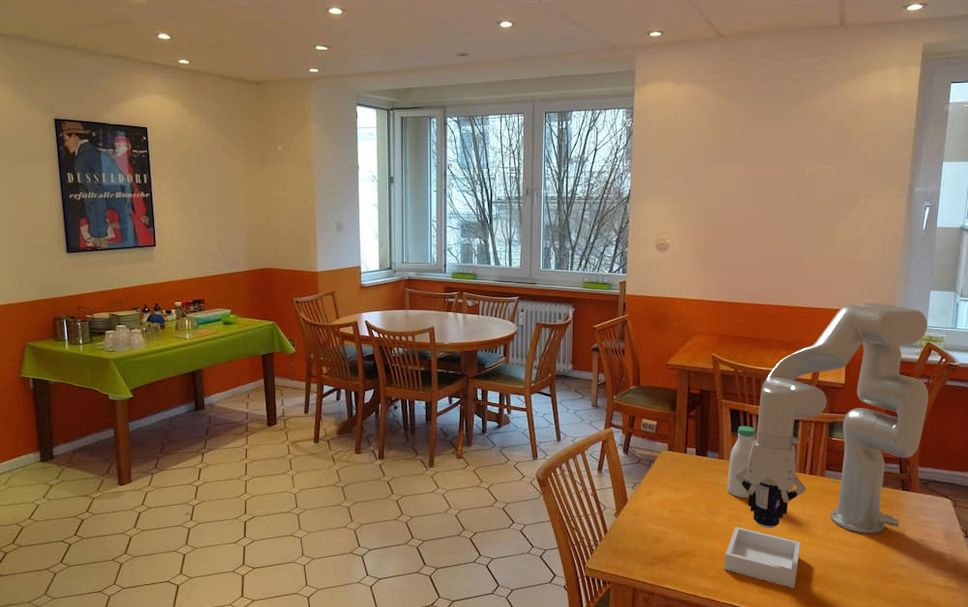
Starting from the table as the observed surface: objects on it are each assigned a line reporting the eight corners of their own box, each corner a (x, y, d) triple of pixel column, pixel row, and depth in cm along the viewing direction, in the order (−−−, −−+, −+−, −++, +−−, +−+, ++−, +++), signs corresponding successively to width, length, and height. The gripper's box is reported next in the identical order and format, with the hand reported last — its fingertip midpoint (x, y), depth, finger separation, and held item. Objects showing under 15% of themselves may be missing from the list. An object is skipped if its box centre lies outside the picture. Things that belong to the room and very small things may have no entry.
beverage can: (776, 532, 153) (781, 483, 151) (750, 525, 156) (755, 477, 154) (780, 522, 158) (785, 474, 156) (755, 515, 161) (759, 468, 159)
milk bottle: (759, 499, 193) (765, 433, 190) (732, 498, 193) (738, 432, 190) (749, 487, 200) (754, 424, 197) (723, 486, 201) (728, 423, 197)
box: (798, 557, 162) (800, 542, 161) (794, 588, 149) (795, 572, 148) (734, 541, 169) (735, 526, 168) (724, 569, 156) (725, 554, 155)
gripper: (816, 441, 153) (808, 515, 156) (737, 427, 161) (731, 497, 164) (814, 452, 147) (806, 528, 150) (732, 437, 155) (726, 510, 158)
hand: (766, 511), depth 157 cm, fingers closed on beverage can, 5 cm apart
